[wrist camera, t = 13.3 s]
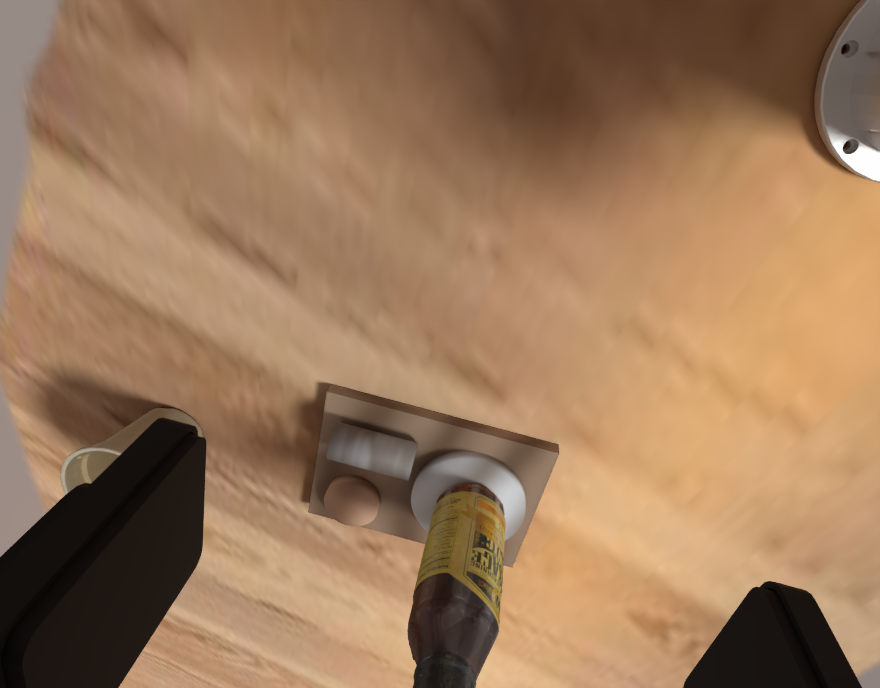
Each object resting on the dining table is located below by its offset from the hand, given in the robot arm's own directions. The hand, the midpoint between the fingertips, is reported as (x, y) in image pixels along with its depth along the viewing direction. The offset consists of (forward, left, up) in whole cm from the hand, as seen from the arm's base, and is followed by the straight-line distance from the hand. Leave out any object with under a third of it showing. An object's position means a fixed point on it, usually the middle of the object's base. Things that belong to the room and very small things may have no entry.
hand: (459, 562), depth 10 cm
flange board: (0, +27, -33) cm, 43 cm away
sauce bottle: (-4, +27, -31) cm, 41 cm away
